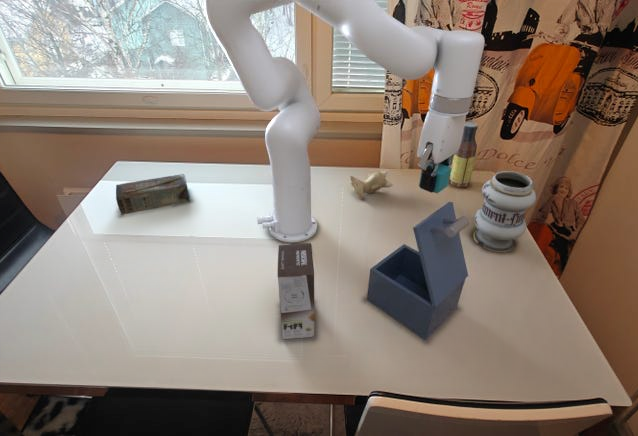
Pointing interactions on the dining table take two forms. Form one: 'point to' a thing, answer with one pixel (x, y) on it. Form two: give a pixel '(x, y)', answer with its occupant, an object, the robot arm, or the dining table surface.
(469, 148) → the sauce bottle
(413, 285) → the compartment
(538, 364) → the dining table surface
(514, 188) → the apothecary jar
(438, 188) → the block
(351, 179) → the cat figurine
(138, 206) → the beverage carton
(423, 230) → the lid
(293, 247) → the coffee box
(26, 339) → the dining table surface
